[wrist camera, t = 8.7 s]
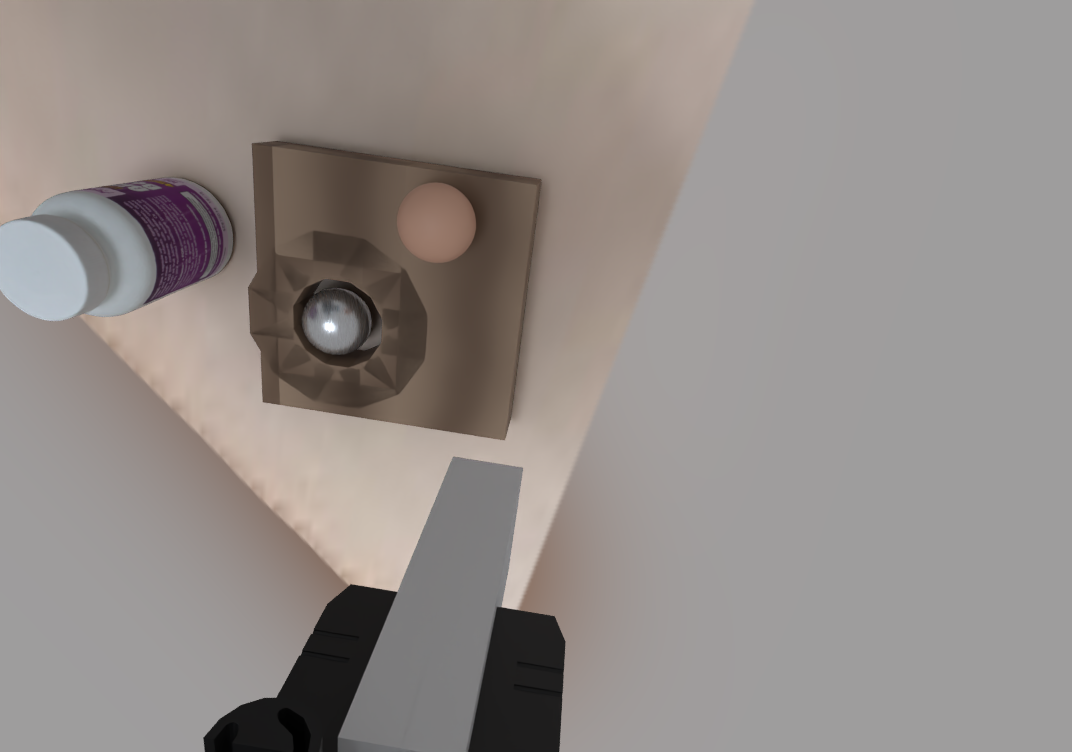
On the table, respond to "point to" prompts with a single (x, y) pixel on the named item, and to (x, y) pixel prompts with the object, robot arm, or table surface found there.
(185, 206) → the pill bottle
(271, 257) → the brown flat square slab
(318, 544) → the table surface
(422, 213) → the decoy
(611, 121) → the table surface
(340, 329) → the ball
